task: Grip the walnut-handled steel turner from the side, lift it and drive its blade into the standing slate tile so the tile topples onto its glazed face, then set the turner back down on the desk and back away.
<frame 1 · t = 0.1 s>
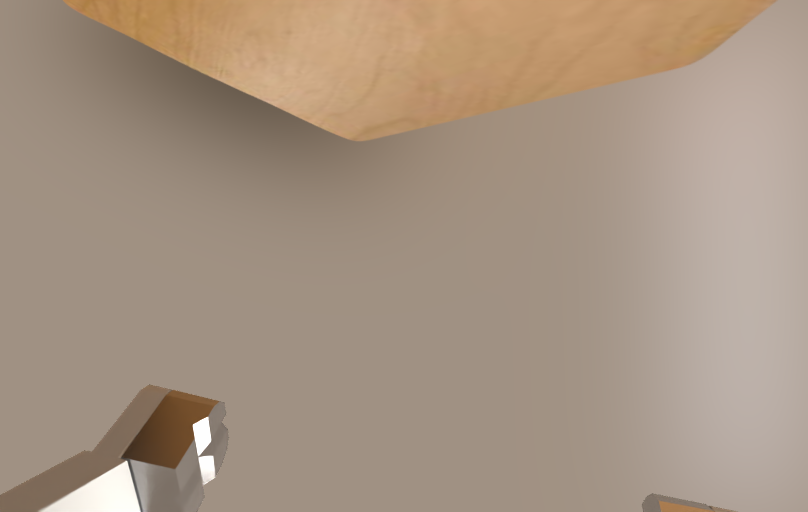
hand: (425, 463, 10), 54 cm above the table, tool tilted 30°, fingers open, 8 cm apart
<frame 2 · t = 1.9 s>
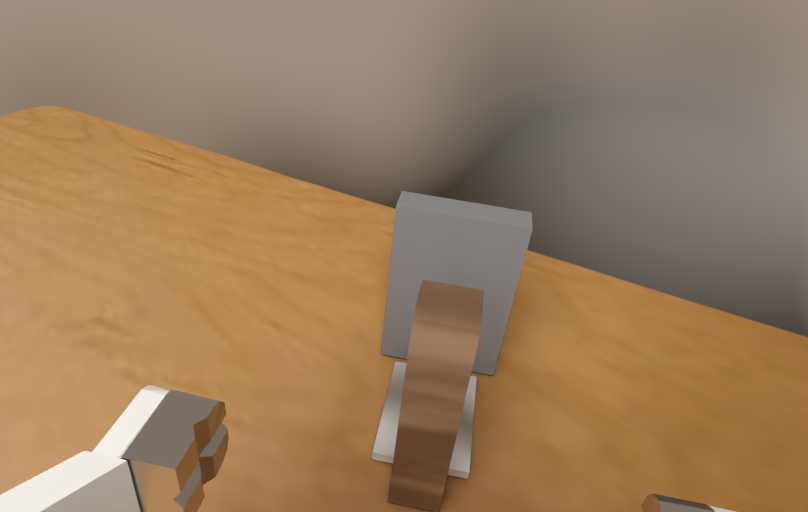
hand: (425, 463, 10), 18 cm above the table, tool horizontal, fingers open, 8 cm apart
turner: (416, 484, 31), on the table
tile: (438, 354, 39), on the table
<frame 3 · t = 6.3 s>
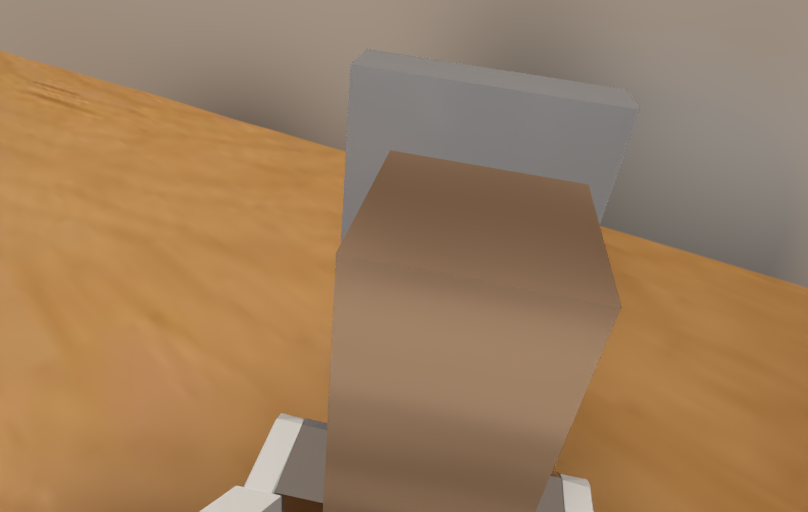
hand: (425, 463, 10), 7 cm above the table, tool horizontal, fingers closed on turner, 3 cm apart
tile: (435, 372, 22), on the table
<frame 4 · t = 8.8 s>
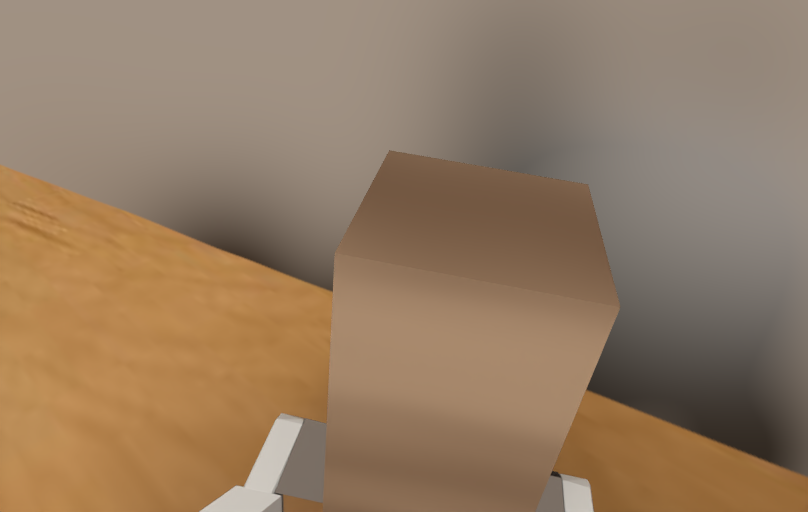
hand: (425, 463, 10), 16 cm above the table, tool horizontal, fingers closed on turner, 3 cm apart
when the fingers open (8 cm above the table, at t = 12.0 s): turner stays where it is, on the table.
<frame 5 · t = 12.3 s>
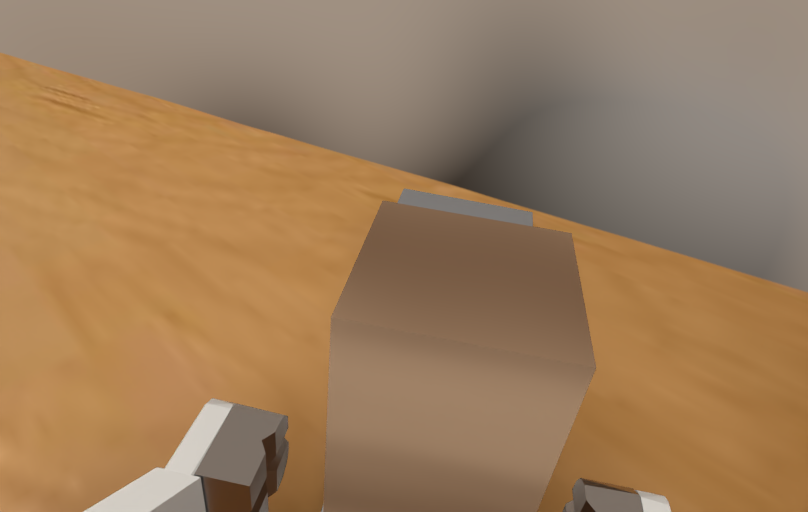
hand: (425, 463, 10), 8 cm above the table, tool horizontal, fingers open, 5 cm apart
tile: (439, 338, 24), point 1 cm above the table, tilted 90°
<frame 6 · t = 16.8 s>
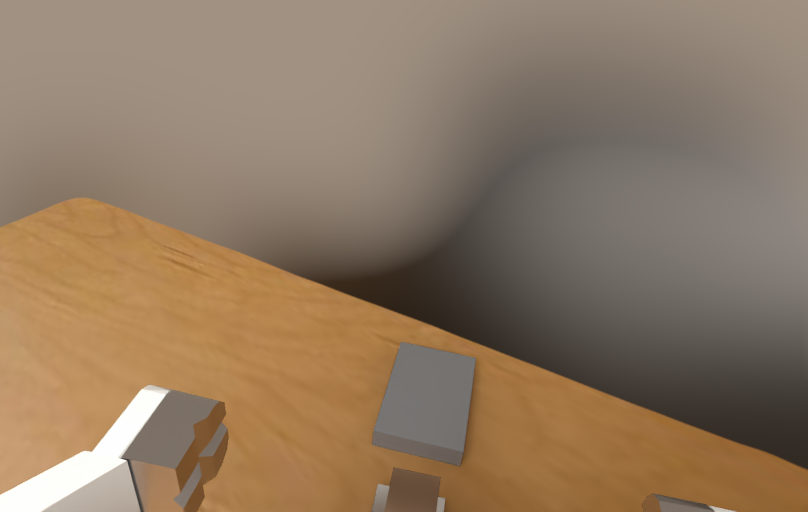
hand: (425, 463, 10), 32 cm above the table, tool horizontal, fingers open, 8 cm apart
tile: (416, 448, 48), point 1 cm above the table, tilted 90°
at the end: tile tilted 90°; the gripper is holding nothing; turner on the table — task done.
